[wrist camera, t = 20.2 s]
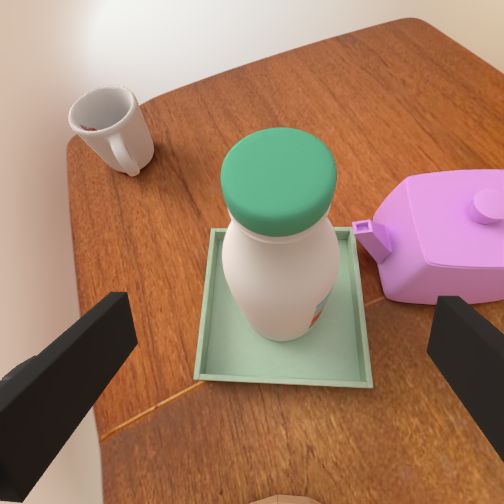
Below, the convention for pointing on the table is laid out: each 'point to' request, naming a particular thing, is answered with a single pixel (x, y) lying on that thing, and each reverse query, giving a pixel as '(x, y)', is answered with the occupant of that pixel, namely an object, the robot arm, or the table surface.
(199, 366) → the tray
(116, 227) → the table surface
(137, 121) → the cup
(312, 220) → the milk bottle
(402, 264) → the teapot
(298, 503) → the bowl
